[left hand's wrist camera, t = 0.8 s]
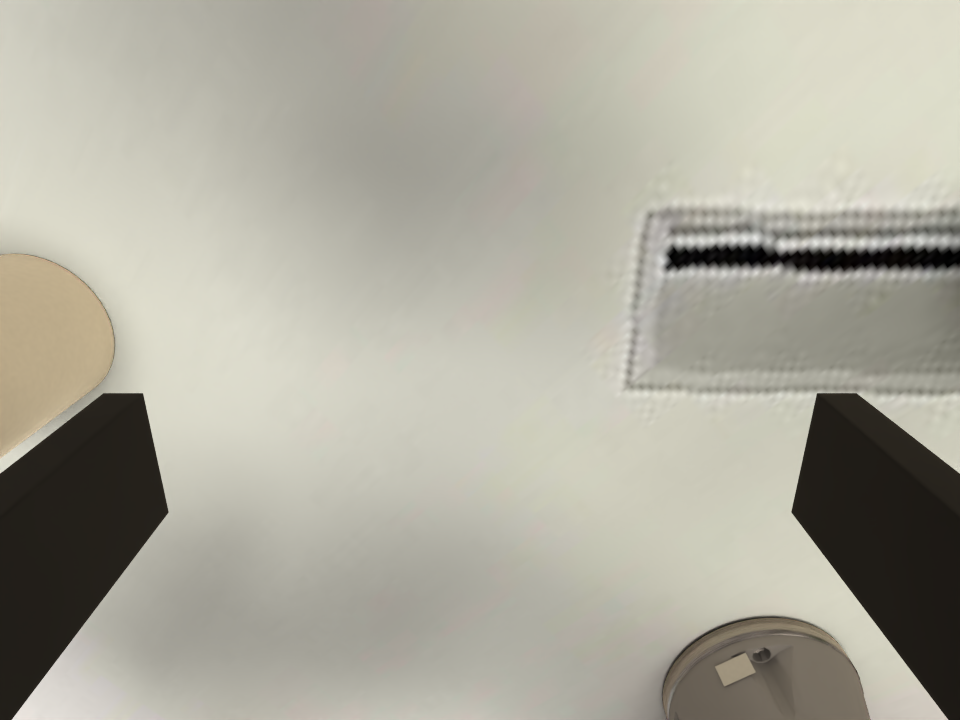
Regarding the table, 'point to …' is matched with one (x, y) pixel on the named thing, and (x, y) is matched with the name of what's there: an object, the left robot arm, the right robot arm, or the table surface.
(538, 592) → the table surface
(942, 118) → the table surface
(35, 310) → the jar
